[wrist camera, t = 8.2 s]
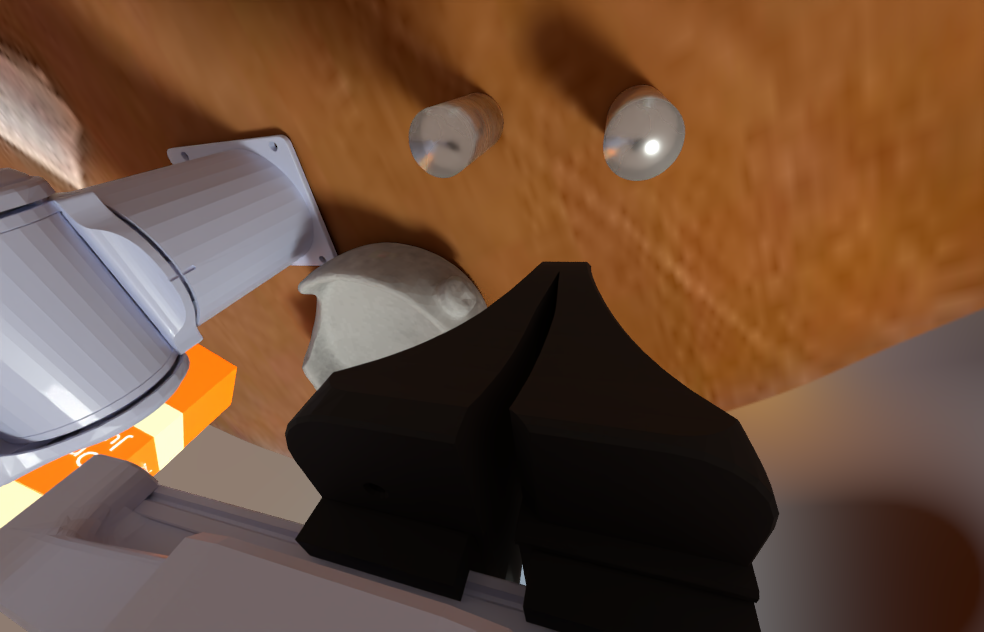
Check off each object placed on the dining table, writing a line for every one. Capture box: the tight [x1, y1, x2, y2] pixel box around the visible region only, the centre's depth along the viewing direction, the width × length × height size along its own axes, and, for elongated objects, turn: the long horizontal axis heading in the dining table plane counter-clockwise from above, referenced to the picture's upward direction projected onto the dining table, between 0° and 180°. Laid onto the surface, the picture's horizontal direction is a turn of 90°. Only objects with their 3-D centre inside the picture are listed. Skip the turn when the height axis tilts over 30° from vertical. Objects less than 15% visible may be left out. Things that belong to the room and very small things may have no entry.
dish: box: [298, 242, 487, 390], centre depth 24 cm, size 14×14×5 cm
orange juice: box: [0, 344, 237, 528], centre depth 31 cm, size 8×9×20 cm
